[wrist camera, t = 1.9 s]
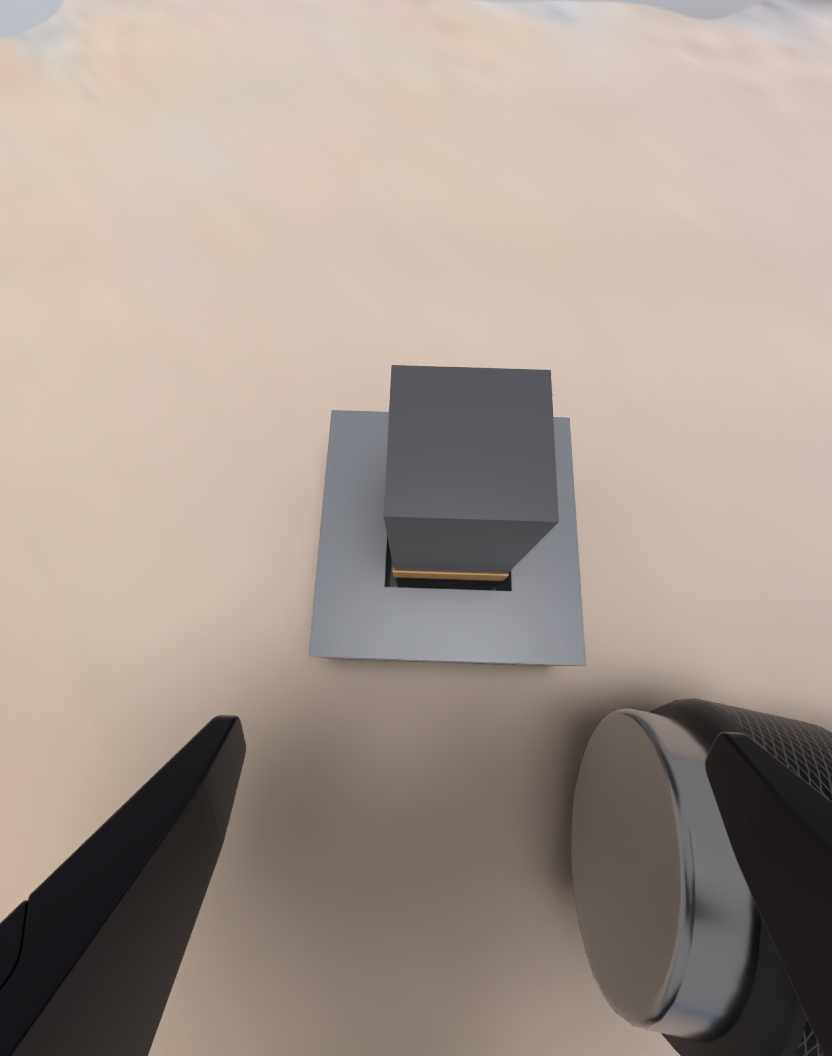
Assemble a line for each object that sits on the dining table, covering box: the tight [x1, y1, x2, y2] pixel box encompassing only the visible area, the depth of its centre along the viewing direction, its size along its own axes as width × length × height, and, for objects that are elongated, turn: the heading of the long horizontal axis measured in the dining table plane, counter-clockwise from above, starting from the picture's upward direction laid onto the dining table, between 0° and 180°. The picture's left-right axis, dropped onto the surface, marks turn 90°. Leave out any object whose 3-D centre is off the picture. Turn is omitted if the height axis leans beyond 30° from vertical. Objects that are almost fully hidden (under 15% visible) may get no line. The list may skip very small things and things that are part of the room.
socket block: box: [309, 410, 586, 666], centre depth 21 cm, size 10×10×4 cm
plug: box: [383, 365, 559, 591], centre depth 17 cm, size 4×4×11 cm
